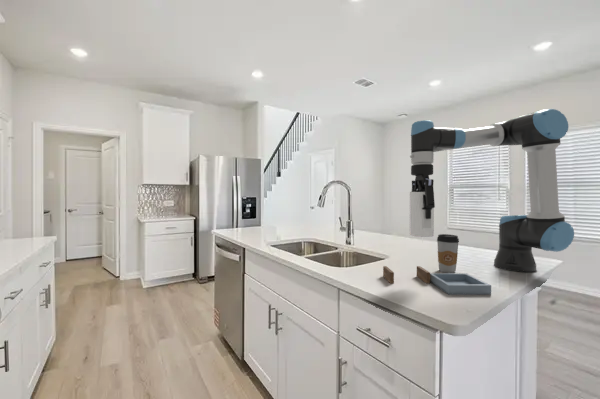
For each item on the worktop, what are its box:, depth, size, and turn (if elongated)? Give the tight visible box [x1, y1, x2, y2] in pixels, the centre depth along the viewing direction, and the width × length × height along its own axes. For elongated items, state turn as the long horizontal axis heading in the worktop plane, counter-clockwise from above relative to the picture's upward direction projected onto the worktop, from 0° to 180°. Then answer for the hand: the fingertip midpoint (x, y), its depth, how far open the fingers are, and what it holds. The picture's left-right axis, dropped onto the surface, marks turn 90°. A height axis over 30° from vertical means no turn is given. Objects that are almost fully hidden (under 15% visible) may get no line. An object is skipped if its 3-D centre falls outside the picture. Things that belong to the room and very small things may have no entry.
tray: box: [430, 272, 492, 296], centre depth 104 cm, size 14×14×3 cm
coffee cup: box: [436, 233, 460, 273], centre depth 124 cm, size 8×8×15 cm
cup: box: [409, 191, 435, 238], centre depth 109 cm, size 8×8×16 cm
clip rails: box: [382, 265, 431, 284], centre depth 112 cm, size 14×9×4 cm, turn 91°
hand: (421, 226), depth 109 cm, fingers closed on cup, 8 cm apart
